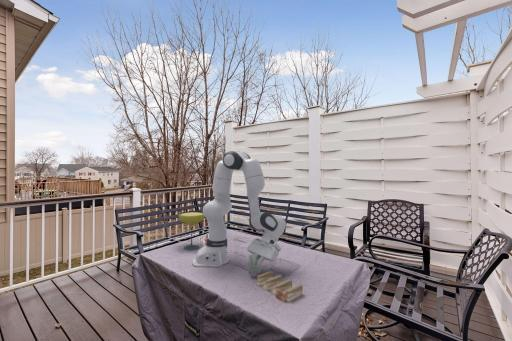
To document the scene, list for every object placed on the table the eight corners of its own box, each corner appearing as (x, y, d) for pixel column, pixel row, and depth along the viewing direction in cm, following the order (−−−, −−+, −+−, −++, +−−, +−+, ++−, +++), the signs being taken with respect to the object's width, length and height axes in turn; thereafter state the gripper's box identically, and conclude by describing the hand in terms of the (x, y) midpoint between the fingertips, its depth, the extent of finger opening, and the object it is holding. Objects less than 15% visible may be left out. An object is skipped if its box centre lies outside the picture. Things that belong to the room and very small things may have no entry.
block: (249, 273, 136) (249, 254, 135) (257, 270, 140) (257, 252, 139) (252, 275, 133) (253, 256, 133) (260, 272, 137) (261, 254, 137)
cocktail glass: (176, 245, 187) (177, 212, 186) (201, 242, 194) (201, 210, 194) (180, 253, 170) (180, 216, 170) (206, 249, 178) (207, 214, 177)
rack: (255, 285, 126) (255, 276, 126) (270, 279, 134) (271, 270, 134) (286, 303, 110) (286, 293, 110) (302, 294, 118) (302, 285, 118)
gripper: (253, 234, 148) (239, 254, 142) (278, 243, 133) (264, 266, 127) (258, 240, 152) (245, 260, 145) (283, 249, 136) (270, 272, 130)
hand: (254, 263), depth 136 cm, fingers closed on block, 3 cm apart
